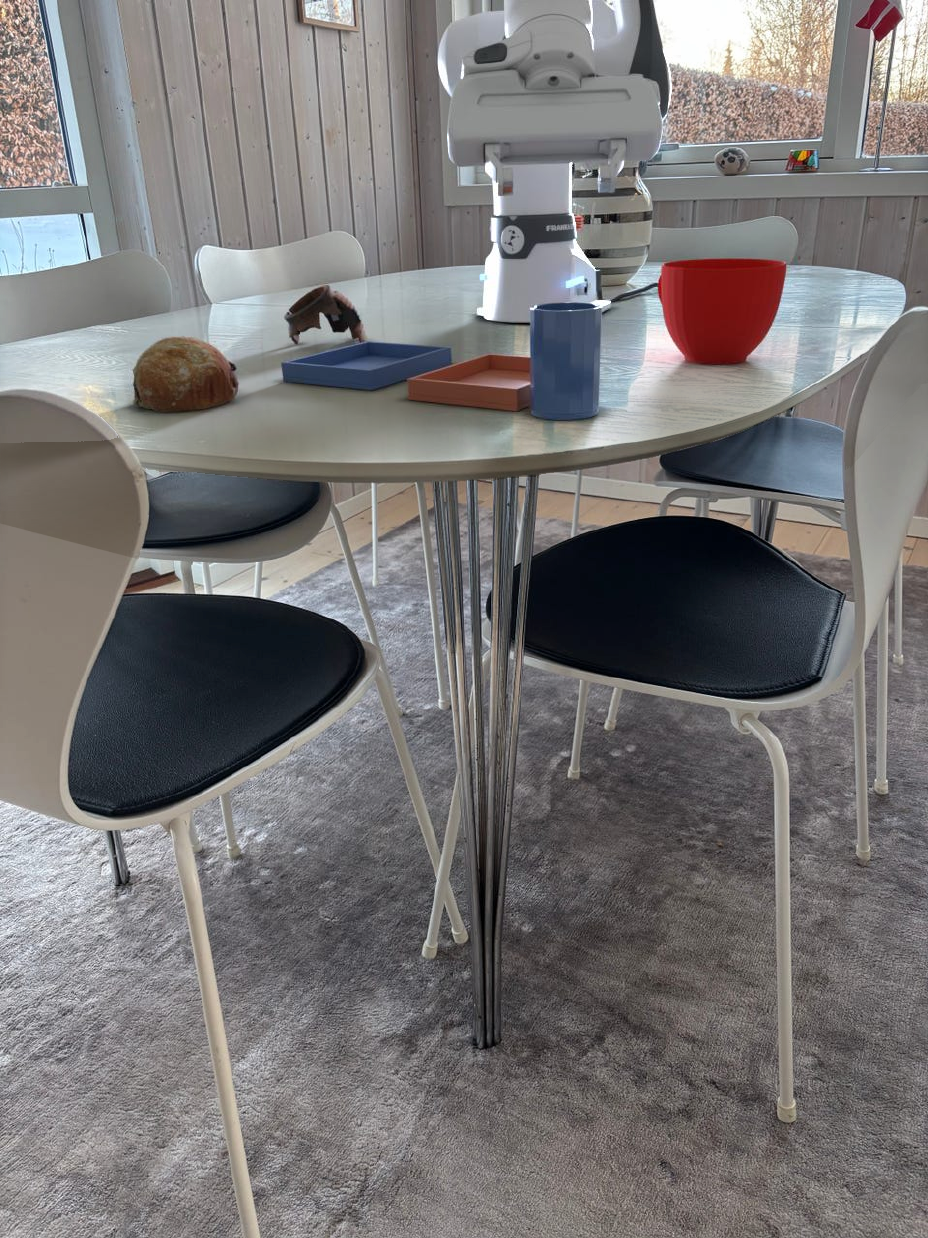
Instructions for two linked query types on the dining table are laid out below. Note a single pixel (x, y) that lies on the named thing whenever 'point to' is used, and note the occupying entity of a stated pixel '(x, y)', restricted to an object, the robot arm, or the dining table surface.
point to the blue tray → (366, 365)
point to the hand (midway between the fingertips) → (556, 189)
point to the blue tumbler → (565, 360)
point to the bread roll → (183, 376)
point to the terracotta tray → (477, 383)
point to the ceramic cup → (720, 306)
